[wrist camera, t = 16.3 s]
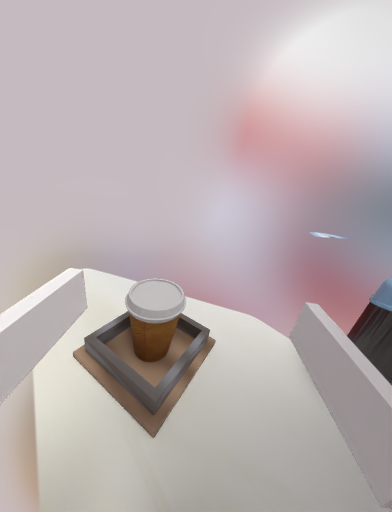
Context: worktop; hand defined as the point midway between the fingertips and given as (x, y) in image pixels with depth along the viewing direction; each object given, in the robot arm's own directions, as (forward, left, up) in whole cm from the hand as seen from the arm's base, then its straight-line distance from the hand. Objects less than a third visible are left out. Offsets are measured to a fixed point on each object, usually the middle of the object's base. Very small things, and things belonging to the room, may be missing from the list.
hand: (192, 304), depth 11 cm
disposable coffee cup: (-11, -11, -23) cm, 28 cm away
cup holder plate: (-11, -12, -23) cm, 28 cm away
